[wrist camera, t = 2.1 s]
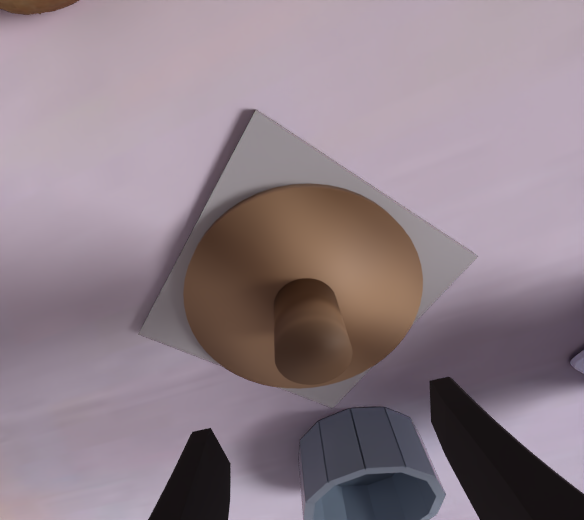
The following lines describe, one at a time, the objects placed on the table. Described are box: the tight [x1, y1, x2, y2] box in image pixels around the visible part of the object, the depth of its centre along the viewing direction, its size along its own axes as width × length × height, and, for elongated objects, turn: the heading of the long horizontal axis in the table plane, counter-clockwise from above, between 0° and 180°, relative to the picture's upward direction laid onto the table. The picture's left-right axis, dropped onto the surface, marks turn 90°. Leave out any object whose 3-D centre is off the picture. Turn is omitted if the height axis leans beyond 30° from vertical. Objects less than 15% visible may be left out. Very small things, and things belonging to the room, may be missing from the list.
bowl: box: [298, 407, 446, 520], centre depth 23 cm, size 9×9×4 cm
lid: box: [183, 183, 423, 389], centre depth 15 cm, size 12×12×4 cm
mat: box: [138, 110, 478, 408], centre depth 17 cm, size 13×13×1 cm
